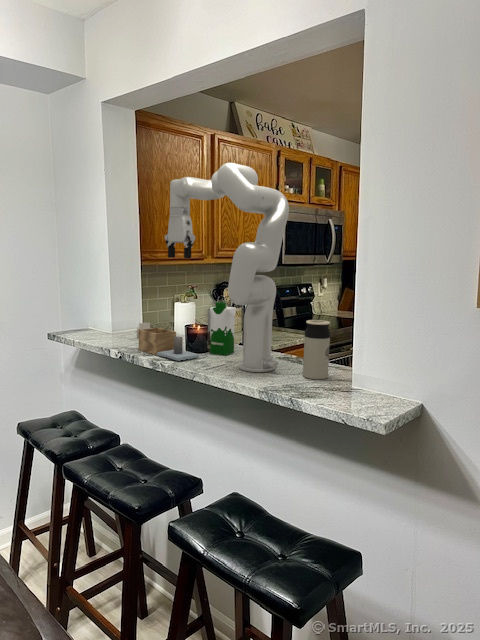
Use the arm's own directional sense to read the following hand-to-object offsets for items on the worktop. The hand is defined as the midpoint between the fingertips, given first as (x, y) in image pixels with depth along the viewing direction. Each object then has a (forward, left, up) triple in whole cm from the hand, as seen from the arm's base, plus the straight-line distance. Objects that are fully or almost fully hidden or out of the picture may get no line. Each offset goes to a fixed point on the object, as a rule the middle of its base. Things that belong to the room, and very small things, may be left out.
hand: (179, 257), depth 184 cm
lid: (-12, +10, -36) cm, 39 cm away
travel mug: (-61, -6, -37) cm, 72 cm away
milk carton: (-16, -8, -37) cm, 41 cm away
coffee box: (-7, -15, -37) cm, 40 cm away
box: (+3, +9, -36) cm, 37 cm away
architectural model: (+29, -3, -37) cm, 47 cm away
